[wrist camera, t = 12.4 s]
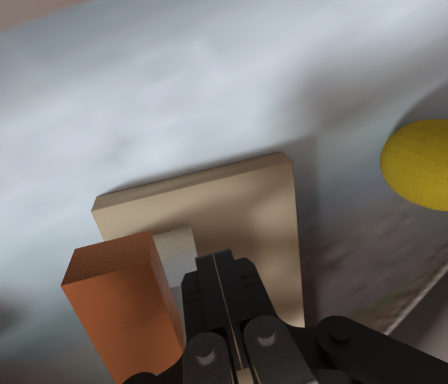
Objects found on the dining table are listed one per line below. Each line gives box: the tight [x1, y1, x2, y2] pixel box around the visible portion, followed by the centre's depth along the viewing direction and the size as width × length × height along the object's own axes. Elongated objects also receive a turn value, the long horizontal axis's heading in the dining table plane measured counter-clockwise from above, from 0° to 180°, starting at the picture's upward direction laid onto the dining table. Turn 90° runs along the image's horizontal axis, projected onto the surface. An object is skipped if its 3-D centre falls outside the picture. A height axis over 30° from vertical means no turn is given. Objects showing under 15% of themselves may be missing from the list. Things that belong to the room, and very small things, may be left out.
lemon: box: [380, 119, 448, 211], centre depth 20 cm, size 6×6×8 cm
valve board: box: [91, 152, 305, 384], centre depth 26 cm, size 26×13×2 cm, turn 10°
